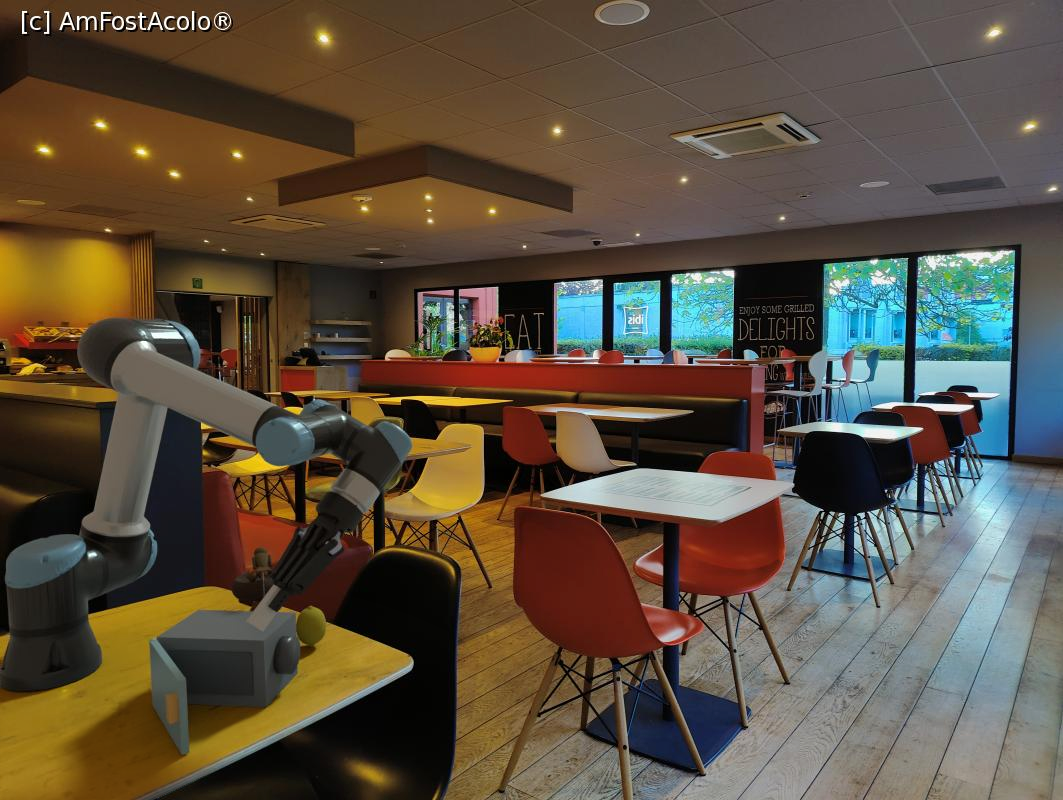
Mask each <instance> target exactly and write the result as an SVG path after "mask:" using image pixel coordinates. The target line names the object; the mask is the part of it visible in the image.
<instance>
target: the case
mask: <svg viewBox="0 0 1063 800" xmlns="http://www.w3.org/2000/svg"><path fill="white" fill-rule="evenodd" d="M252 613H253V611H250V610H225V609H224V610H223V609H222V610H220V609H217V610H216V609H197V610H195V611H194V612H192V613H191V614H190V615H188V616H186V617H185V618H183V619H182V620H181V621H179V622H177V623H176V624H174V625H172V627H171V626H170V628H168V629H167V630H165V631H164V632H162V633H161V634H159V635H158V636H156V639H157V641H158V642H159V643H160V645H161V646H162V647H163V649H164V650H165V651H166V653H167V654H168V655H169V657H170V658H171V659H172V661H173V662H174V663H175V665H176V666H177V668H178V669H179V670H180V672H181V673H182V674H183V676H184V677H185V678H186V689H187V705H197V706H198V705H203V706H222V707H224V706H225V707H227V706H228V707H248V708H249V707H250V708H267V707H268V706H269V705H270V704H271V703H272V701H274V699H276V697H277V696H278V695H279V694H280V693H281V692H282V691H283V690H284V689H285V687H286V686H287V685H288V684H289V683H291V681H292V680H293V679H294V678H295V677H296V676H297V675H298V671H299V669H298V668H299V667H298V665H299V662H300V659H301V641H300V640H299V638H298V636H297V632H296V623H297V612H292V611H290V612H289V611H287V612H286V611H278V612H277V614H276V615H275V616H274V618H273V619H272V620H271V622H270V623H269V624H268V626H267V627H266V629H265V630H264V631H263V632H262V631H261V630H259V629H257V628H256V627H254V626H253V625H251V624H250V623H248V622H247V619H248V618H249V617H250V615H251V614H252ZM294 676H295V677H294ZM293 677H294V678H293ZM292 678H293V679H292ZM282 689H283V690H282Z"/></svg>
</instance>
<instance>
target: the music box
mask: <svg viewBox="0 0 1063 800" xmlns="http://www.w3.org/2000/svg"><path fill="white" fill-rule="evenodd" d="M252 553H253V556H252V557H251V565H252V569H250V570H249V572H244V573H241V574H239V575H237V576H236V578H234V580H233V581H232V584H231V593H232V595H233V596H234V597H235V598H236V599H237V600H238V601H237V602H238V603H239V604H242V605H245V606H246V607H247V606H248V607H250V609H249V611H254V610H255V609H256V607H257V606H258V605H259V603H260V602H261V601H262V599H263V598H264V596H265V595H266V594H267V592H268V591H269V590H270V588H271V587H272V586H273V583H272V582H273V579H272V578H270V575H271V573H272V572H273V570H272V567H273V562H272V557H271V555H270V554H268V550H267V549H266V548H265V547H263V546H258V547H256V548H255V550H254V551H253V552H252ZM256 569H257V570H256Z"/></svg>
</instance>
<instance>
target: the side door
mask: <svg viewBox="0 0 1063 800" xmlns="http://www.w3.org/2000/svg"><path fill="white" fill-rule="evenodd" d="M148 640H149V645H148V646H149V663H150V664H149V665H150V686H151V703H152V704H151V705H152V707H153V708H154V710H155V712H156V714H157V715H158V717H159V719H160V720H161V722H162V723H163V726H164V727H165V729H166V731H167V733H168V735H169V736H170V738H171V740H172V741H173V742H174V744H175V745H176V746H175V747H176V748H177V749H178V751H179V752H180V754H181V755H186V754H188V753H190V739H189V738H190V737H189V718H188V717H189V716H188V715H189V714H188V704H187V689H186V678H185V677H184V676H183V674H182V673H181V672H180V670H179V669H178V668H177V666H176V665H175V663H174V662H173V661H172V659H171V658H170V657H169V655H168V654H167V653H166V651H165V650H164V649H163V647H162V646H161V645H160V643H159V642H158V641H157V637H156V638H155V637H153V638H150V639H148Z"/></svg>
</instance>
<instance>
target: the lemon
mask: <svg viewBox="0 0 1063 800" xmlns="http://www.w3.org/2000/svg"><path fill="white" fill-rule="evenodd" d="M326 630H327V620H326V618H325V614H324V613H323V611H322V610H321V609H320V608H317V607H315V606H313V605H309V606H308V607H306V608H304V609H303V610H301V612H300V613H299V614H298V615H297V618H296V636H297V637H298V639H299V641H300V643H302V644H305V645H308V646H309V647H310V648H312V646H313V647H314V646H315V645H316V644H318V643H319V642H321V641H322V640H323V638H324V637H325V635H326V632H327V631H326Z"/></svg>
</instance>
